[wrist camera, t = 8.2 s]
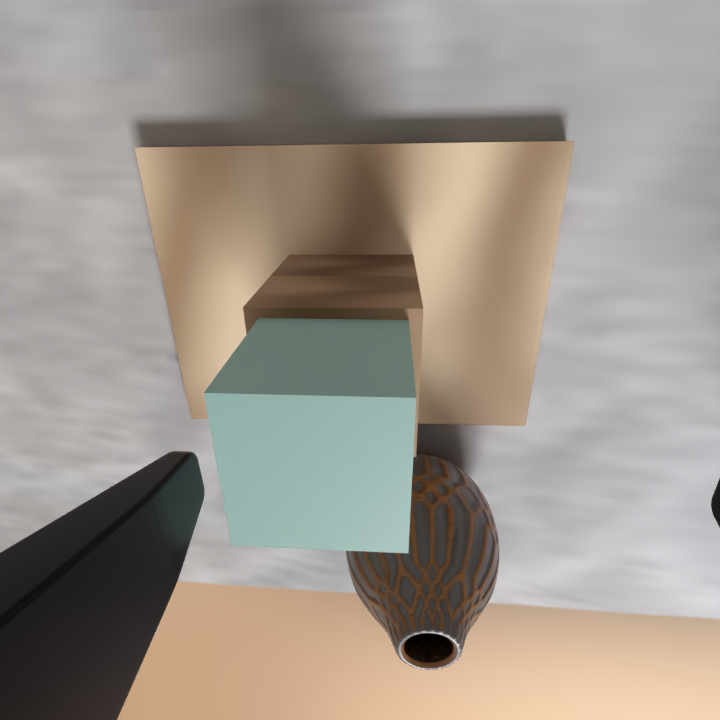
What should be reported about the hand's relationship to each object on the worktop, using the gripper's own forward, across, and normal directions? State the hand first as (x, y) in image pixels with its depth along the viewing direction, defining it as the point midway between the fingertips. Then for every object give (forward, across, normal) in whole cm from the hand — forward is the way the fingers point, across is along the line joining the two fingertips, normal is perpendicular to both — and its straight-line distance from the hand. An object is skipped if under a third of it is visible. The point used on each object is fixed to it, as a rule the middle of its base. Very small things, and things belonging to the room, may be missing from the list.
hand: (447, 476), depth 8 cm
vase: (+13, 0, +11) cm, 17 cm away
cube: (+6, +3, +1) cm, 6 cm away
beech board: (+13, +3, +1) cm, 13 cm away
